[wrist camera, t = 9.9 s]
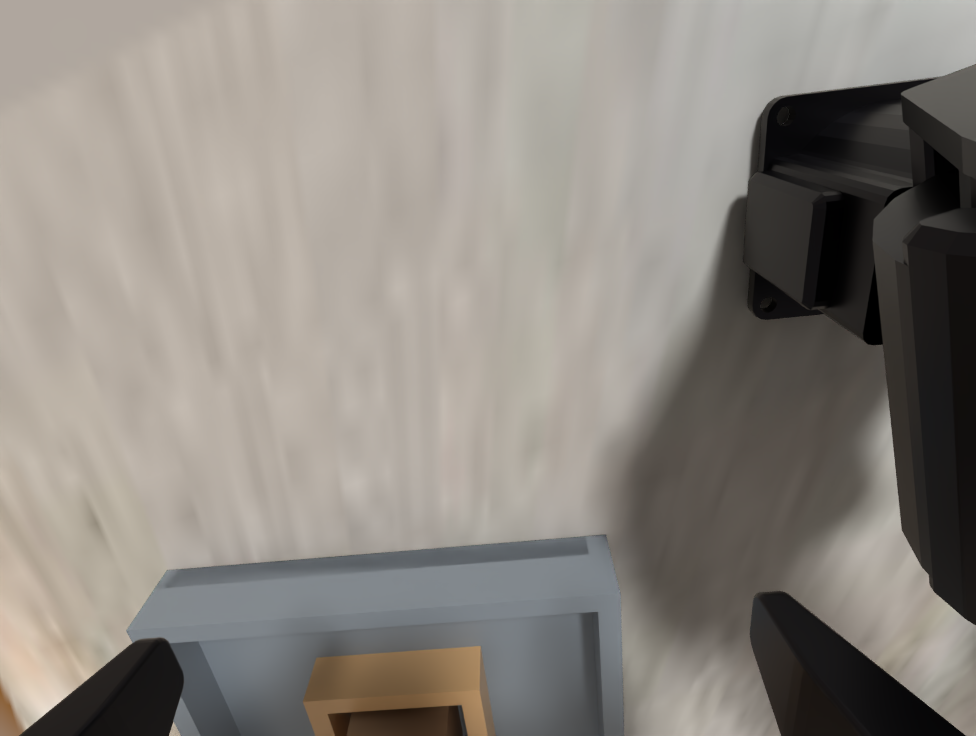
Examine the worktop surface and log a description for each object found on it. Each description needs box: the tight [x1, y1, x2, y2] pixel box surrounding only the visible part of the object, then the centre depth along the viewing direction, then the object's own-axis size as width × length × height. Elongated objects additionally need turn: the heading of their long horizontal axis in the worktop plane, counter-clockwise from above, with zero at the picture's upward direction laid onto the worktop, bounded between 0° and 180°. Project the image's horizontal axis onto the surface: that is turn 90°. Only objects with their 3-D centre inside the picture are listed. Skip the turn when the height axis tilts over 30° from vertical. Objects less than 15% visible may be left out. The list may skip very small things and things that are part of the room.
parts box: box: [126, 535, 624, 736], centre depth 26 cm, size 18×16×3 cm
